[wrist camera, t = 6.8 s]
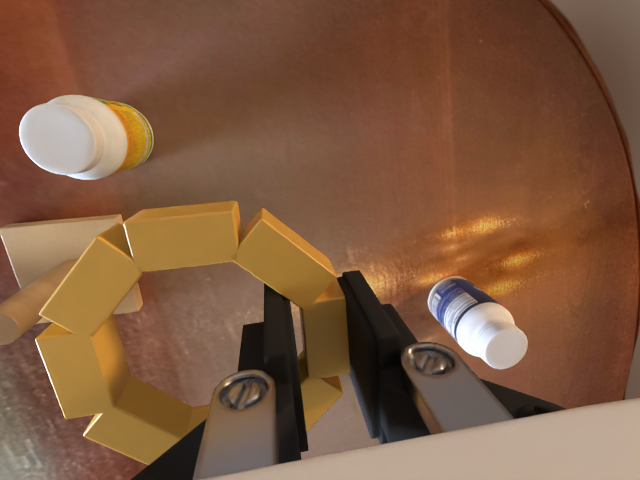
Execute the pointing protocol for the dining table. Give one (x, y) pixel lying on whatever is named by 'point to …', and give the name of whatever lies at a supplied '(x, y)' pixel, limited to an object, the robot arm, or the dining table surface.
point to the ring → (169, 253)
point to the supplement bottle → (86, 136)
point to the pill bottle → (477, 322)
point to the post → (48, 267)
